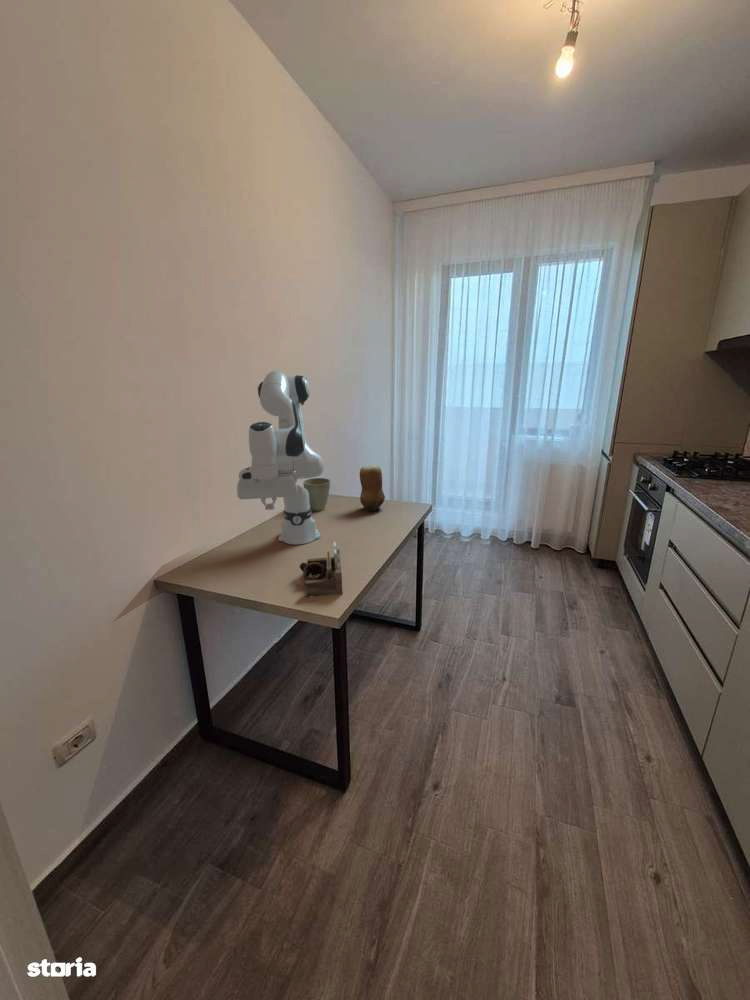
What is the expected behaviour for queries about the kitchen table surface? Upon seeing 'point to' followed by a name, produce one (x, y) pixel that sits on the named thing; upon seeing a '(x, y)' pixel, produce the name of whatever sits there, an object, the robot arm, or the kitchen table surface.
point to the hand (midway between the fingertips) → (269, 509)
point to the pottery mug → (313, 571)
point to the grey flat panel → (329, 567)
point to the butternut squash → (371, 487)
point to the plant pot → (317, 492)
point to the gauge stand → (326, 585)
